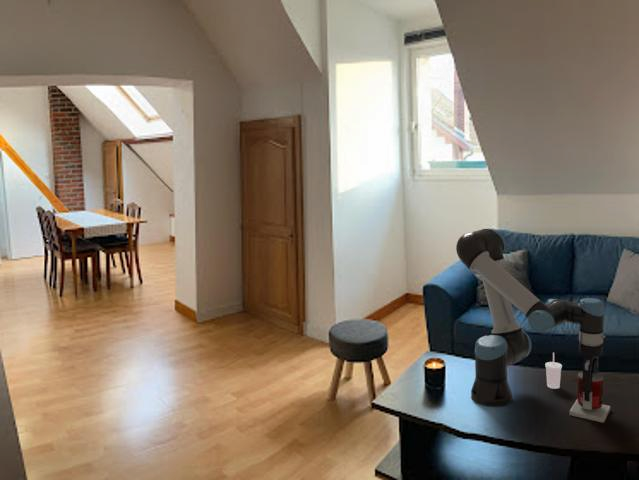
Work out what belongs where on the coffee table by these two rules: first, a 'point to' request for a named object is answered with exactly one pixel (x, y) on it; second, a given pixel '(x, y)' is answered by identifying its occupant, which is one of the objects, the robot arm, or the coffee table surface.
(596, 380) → the canned food
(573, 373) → the coffee table surface
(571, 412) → the tray
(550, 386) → the beverage cup
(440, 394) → the coffee table surface
